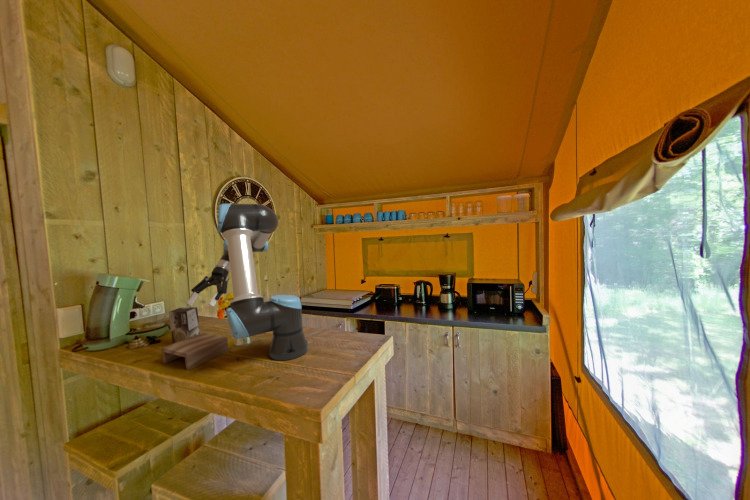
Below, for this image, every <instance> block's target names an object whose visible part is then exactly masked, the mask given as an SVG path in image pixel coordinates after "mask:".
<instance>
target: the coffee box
mask: <svg viewBox="0 0 750 500" xmlns="http://www.w3.org/2000/svg"><path fill="white" fill-rule="evenodd" d="M168 316H169V324H170V332H171V333H170V334H171V341H172V344H174V343H176V342H179V341H182V340H184V339H187V338H190V337H193V336H195V335H198V334H201V330H200V323H199V322H200V321H199V313H198V307H193V306H190V307H178V308H176V309H173V310H171V311H168Z"/></svg>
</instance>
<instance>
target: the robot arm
mask: <svg viewBox="0 0 750 500" xmlns="http://www.w3.org/2000/svg"><path fill="white" fill-rule="evenodd" d="M278 225H279V218H278V216H277V214H276V212H275V211H274V210H273V209H271V208H270V207H268V206H266V205H265V204H261V203H232V202H230V203H220V204H219V206H218V210H217V226H216V227H217V228H216V229H217V230H216V231H217V233H220V234H221V236H222V238H223V239H224V240H223V244H222V245H223V251H222V252H223V253H222V255H221V256H220V259H219V260H218V262H217V263H216V265H215V266H214V267H213V269H212V270H211V275H210V276H206V275H205V276H204V277H203V279H202V280H201V281H199V282H198V283H196V285H194V287H192V288H191V290H190V291H191V292H192V293H191V295H190V297H189V299H188V300H187V302H186V305H188V306H190V307H193V304H195V303H194V302H195V301H196V300H197V298H198V297H199V295H200V293H201V292H203V291H204V290H206V289H207V288H209V287H211V286H213V287H214V286H216V292H215V293H214V295H213V296H212V298H211V300H210V301H209V303H208V305H209V306H211V307H212V308H213V307H215V305H216V304H217V302H218V301H219V299H221V296H222V295H226V294H227V292H228V291H227V290H228V282H229V280H230V278H229V277H228V276H229V274H230V277H231V286H232V287H231V288H232V293H233V294H232V295H233V299H232V300H231V301H230V302H229V306H230V307H228V308H226V310H225V312H226V317H227V322H228V326H229V329H230V332H231V334H232V337H233V338H234V339H236V340H238V339H244V338H250V337H253V336H257V335H262V334H266V333H270V332H272V338H271V342H270V347H269V350H268V352H269V357H270V358H271V360H275V361H287V360H288V361H289V360H293V359H294V360H295V359H296V358H300V357H301V356H303V355H305V354H306V353H307V352H308V351H309V342H308V340H307V339H306V338H307V337H306V336H305V333H304V331H303V330H304V327H303V315H302V314H303V313H302V312H303V311H302V307H303V306H302V302H301V298H300V297H299V296H296V295H292V294H291V295H290V294H276V295H272V296H271V297H269V301H267V300H266V301H265V299H264V296H262V295H261V294H259V289H258V282H257V276H256V275H257V274H256V268H255V261H254V254H253V253H261V252H266V251H268V250H269V239H270V237H271V234H273V233H274V232H275V231H277V228H278Z"/></svg>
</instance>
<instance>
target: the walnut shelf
mask: <svg viewBox="0 0 750 500" xmlns="http://www.w3.org/2000/svg"><path fill="white" fill-rule="evenodd" d="M228 339H229V338H228V336H223V335H218V334H212V333H206V332H200V334H198V335H195V336H193V337H190V338H187V339H184V340H182V341H179V342H176V343H174V344H173V343H172V344H168V345H166V346H163V347H161V352H162V353H161V354H162V360H163V361H162V362H163V363H164V364H167V363H169V362H172V361H174V360H176V359H179V358H184V361H185V369H186V370H188V371H189V370H191V369H194V368H196V367H197V366H199V365H202V364H204V363H205V362H208V361H211V360H212V359H214V358H216V357H218V356H220V355H223V354H224V353H227V352H229V341H228Z"/></svg>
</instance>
